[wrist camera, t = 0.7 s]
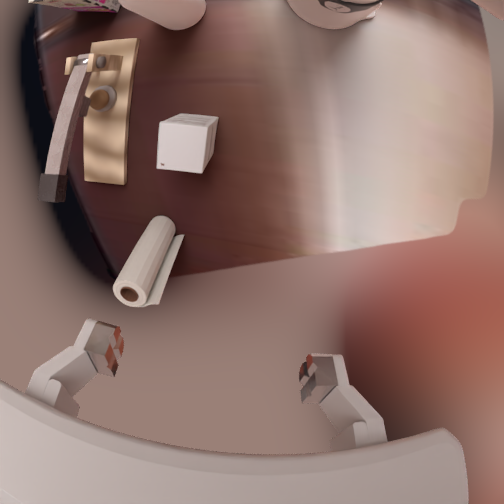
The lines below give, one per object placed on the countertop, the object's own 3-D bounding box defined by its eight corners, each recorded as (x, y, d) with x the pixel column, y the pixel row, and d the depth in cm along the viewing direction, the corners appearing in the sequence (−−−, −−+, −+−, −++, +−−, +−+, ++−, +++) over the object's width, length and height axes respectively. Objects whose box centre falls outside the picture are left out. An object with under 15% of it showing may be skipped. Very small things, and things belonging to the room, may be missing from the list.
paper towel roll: (145, 223, 57) (105, 289, 40) (164, 209, 55) (126, 275, 38) (165, 246, 61) (135, 316, 43) (184, 234, 59) (158, 305, 41)
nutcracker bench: (95, 43, 33) (60, 40, 24) (140, 39, 34) (109, 31, 25) (88, 178, 50) (58, 202, 41) (126, 182, 51) (100, 208, 42)
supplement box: (214, 153, 49) (202, 175, 38) (176, 149, 48) (154, 169, 37) (220, 116, 44) (209, 127, 34) (180, 111, 44) (158, 121, 33)
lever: (88, 65, 31) (75, 53, 26) (105, 63, 32) (93, 51, 27) (55, 199, 36) (37, 200, 31) (72, 201, 36) (54, 202, 31)
